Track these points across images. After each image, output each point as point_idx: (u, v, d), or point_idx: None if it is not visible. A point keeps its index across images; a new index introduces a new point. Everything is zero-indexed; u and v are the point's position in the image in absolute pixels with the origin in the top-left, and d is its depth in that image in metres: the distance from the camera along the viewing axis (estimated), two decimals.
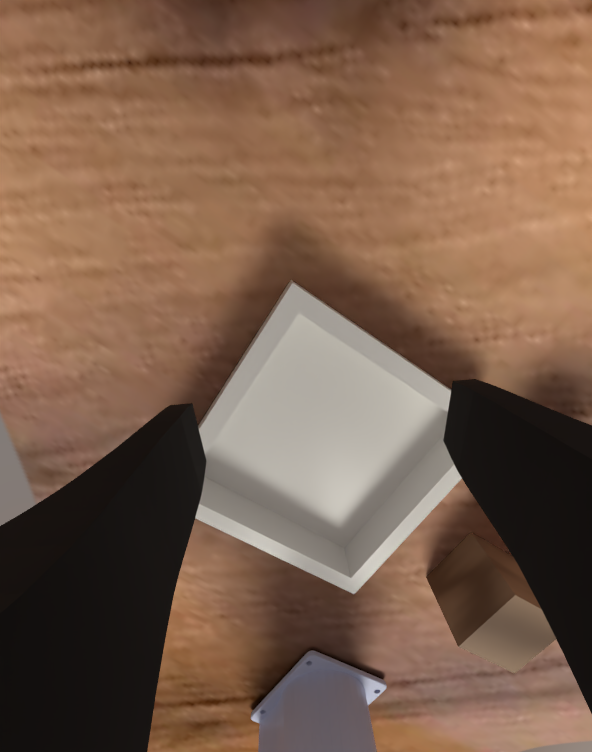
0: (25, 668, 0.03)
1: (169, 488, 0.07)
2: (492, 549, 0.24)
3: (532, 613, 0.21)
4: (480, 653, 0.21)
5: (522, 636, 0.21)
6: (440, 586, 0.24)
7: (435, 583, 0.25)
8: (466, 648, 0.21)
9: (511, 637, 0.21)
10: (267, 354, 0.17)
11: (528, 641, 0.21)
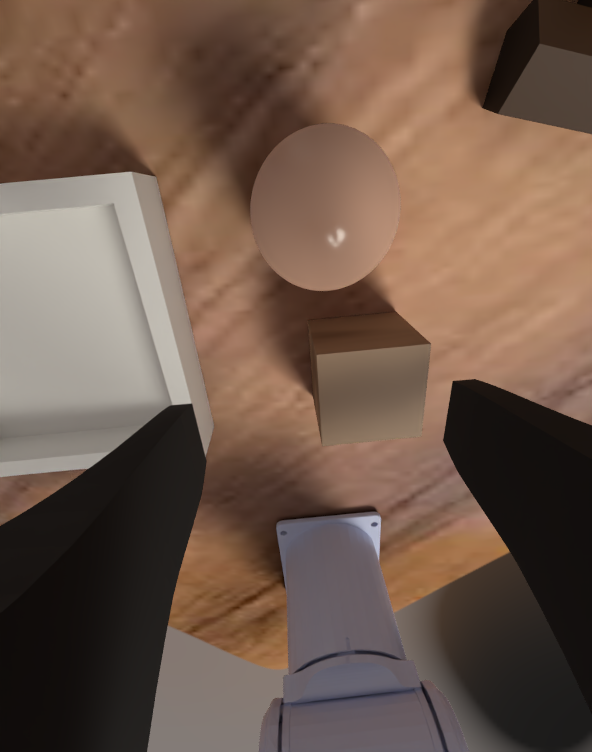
0: (25, 668, 0.03)
1: (169, 488, 0.07)
2: (336, 321, 0.18)
3: (362, 361, 0.15)
4: (355, 438, 0.17)
5: (382, 393, 0.16)
6: (314, 396, 0.20)
7: (313, 396, 0.20)
8: (333, 442, 0.17)
9: (370, 401, 0.16)
10: None
11: (396, 394, 0.16)
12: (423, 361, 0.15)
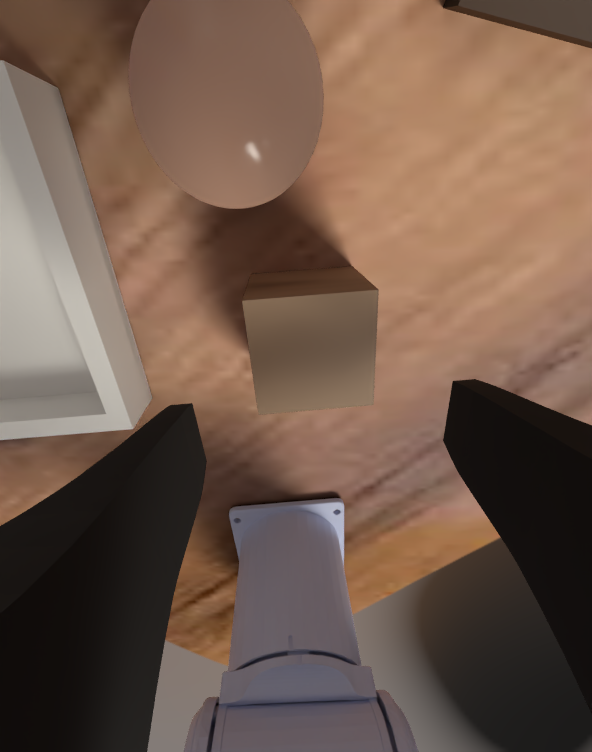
0: (25, 667, 0.03)
1: (169, 488, 0.07)
2: (282, 274, 0.16)
3: (298, 310, 0.13)
4: (296, 406, 0.15)
5: (323, 351, 0.14)
6: None
7: None
8: (270, 410, 0.15)
9: (310, 361, 0.14)
10: None
11: (341, 352, 0.14)
12: (370, 312, 0.13)
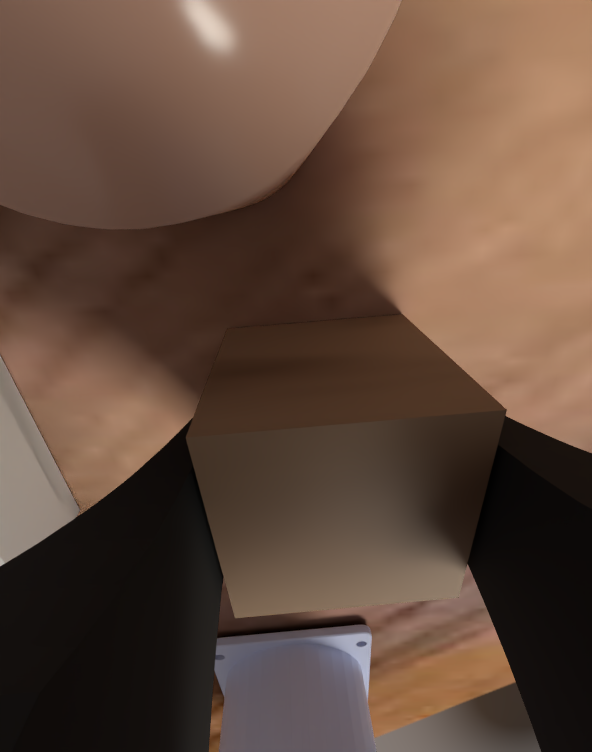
0: (128, 658, 0.03)
1: None
2: (281, 335, 0.09)
3: (318, 452, 0.06)
4: (309, 604, 0.07)
5: (369, 521, 0.06)
6: None
7: None
8: (258, 612, 0.07)
9: (341, 539, 0.07)
10: None
11: (405, 523, 0.06)
12: (480, 452, 0.06)
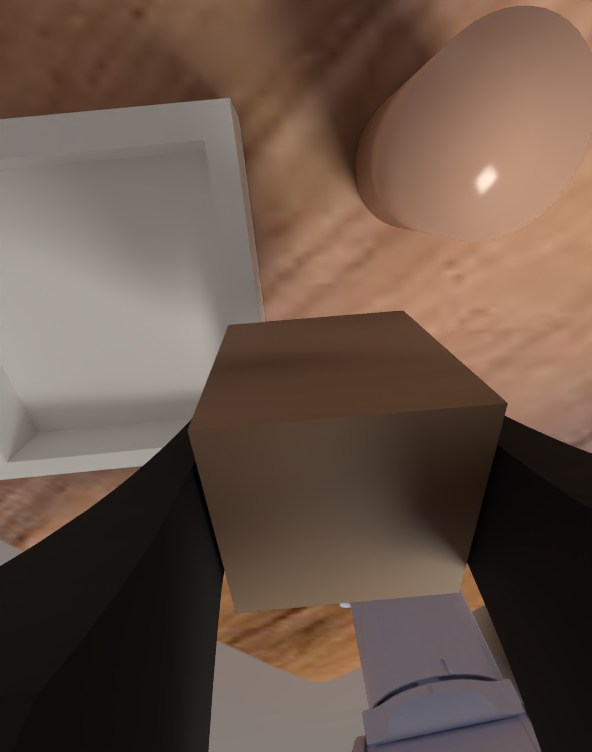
0: (127, 658, 0.03)
1: None
2: (282, 331, 0.09)
3: (320, 445, 0.06)
4: (309, 599, 0.07)
5: (371, 516, 0.06)
6: None
7: None
8: (259, 607, 0.08)
9: (341, 533, 0.07)
10: None
11: (406, 517, 0.06)
12: (481, 446, 0.06)
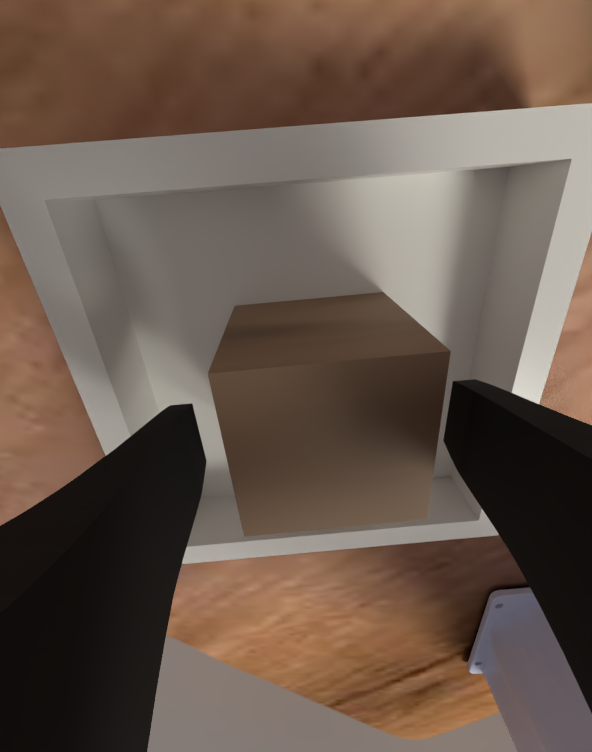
0: (25, 668, 0.03)
1: (169, 488, 0.07)
2: (280, 309, 0.11)
3: (308, 386, 0.07)
4: (304, 524, 0.09)
5: (350, 447, 0.08)
6: None
7: None
8: (263, 531, 0.09)
9: (328, 463, 0.08)
10: (77, 309, 0.09)
11: (379, 449, 0.08)
12: (434, 386, 0.07)
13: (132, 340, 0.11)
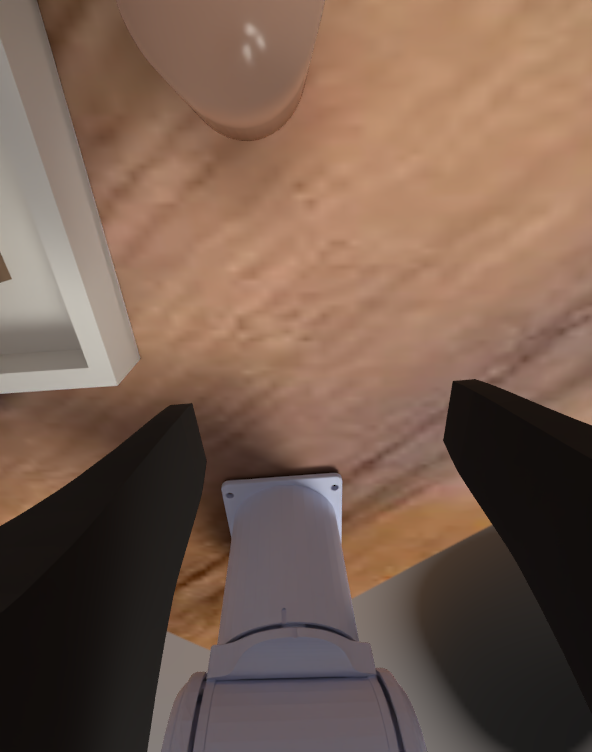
0: (25, 668, 0.03)
1: (169, 488, 0.07)
2: None
3: None
4: None
5: None
6: None
7: None
8: None
9: None
10: None
11: None
12: None
13: None
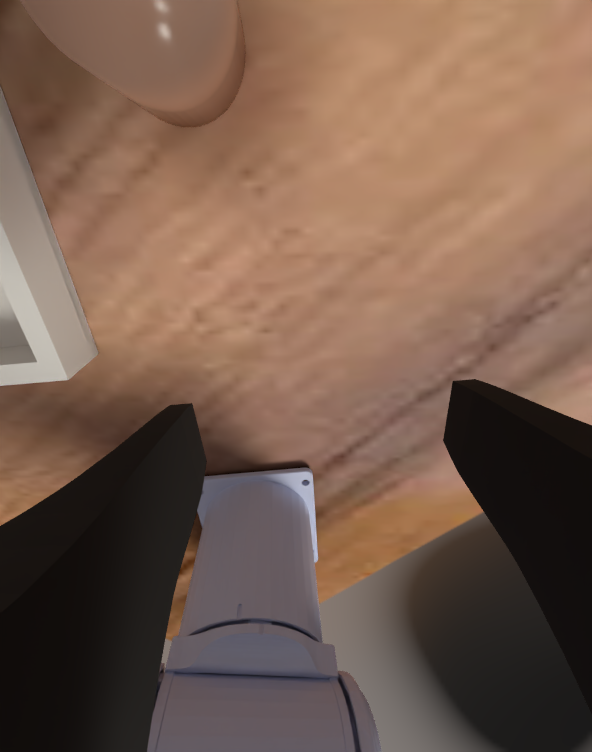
0: (25, 668, 0.03)
1: (169, 488, 0.07)
2: None
3: None
4: None
5: None
6: None
7: None
8: None
9: None
10: None
11: None
12: None
13: None
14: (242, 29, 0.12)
